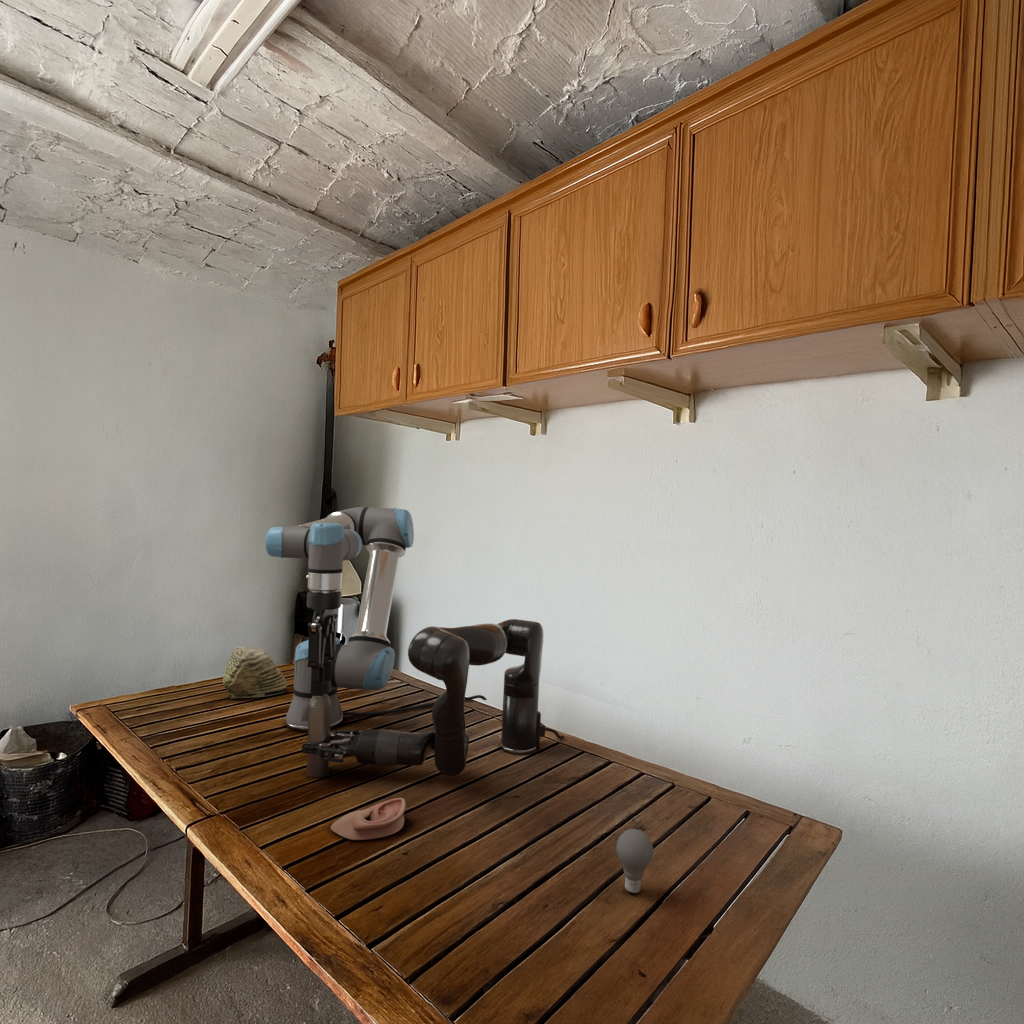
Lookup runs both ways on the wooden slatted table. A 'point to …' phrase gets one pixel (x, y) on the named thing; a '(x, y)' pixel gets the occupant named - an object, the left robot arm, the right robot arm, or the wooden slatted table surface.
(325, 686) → the cap
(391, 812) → the anatomical model
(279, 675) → the fossil
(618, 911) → the wooden slatted table surface
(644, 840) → the light bulb
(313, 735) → the bottle
